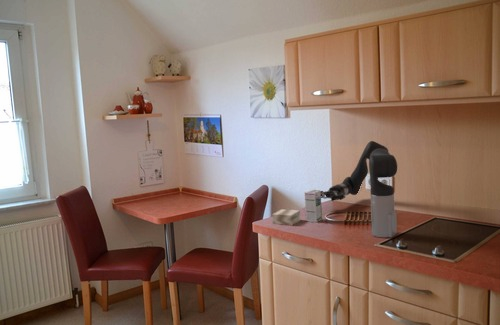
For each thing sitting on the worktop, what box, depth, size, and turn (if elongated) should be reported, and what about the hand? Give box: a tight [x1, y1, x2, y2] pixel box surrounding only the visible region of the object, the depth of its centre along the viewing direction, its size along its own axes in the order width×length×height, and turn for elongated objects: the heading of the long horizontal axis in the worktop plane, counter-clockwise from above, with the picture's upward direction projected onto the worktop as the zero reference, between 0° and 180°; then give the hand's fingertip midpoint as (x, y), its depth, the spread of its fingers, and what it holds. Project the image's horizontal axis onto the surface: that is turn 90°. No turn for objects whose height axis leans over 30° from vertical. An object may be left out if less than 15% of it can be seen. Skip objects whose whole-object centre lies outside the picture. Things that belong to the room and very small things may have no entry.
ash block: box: [271, 208, 301, 226], centre depth 215 cm, size 10×10×5 cm
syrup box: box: [303, 189, 323, 223], centre depth 213 cm, size 6×6×14 cm
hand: (324, 198), depth 221 cm, fingers open, 8 cm apart
